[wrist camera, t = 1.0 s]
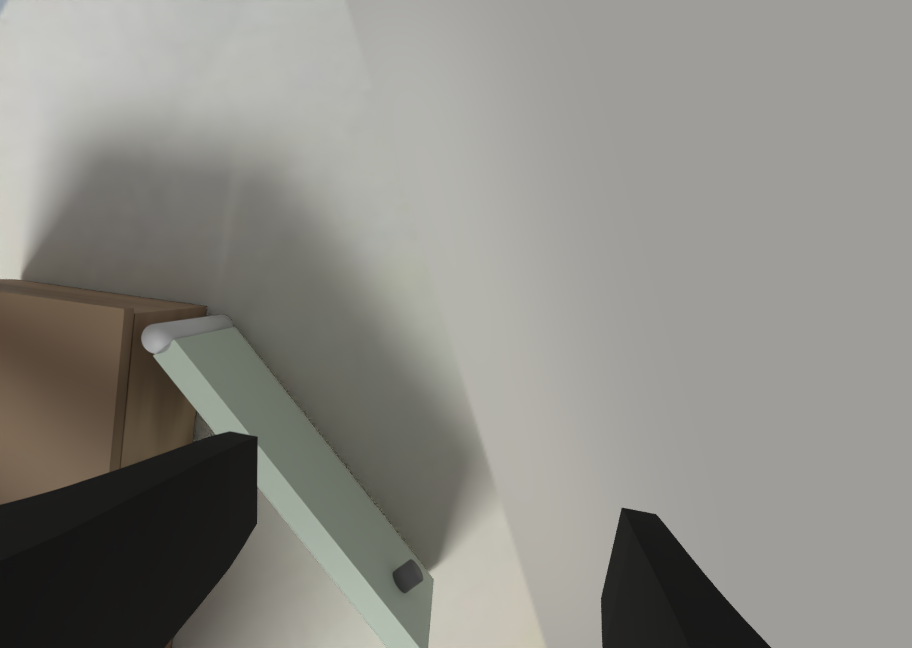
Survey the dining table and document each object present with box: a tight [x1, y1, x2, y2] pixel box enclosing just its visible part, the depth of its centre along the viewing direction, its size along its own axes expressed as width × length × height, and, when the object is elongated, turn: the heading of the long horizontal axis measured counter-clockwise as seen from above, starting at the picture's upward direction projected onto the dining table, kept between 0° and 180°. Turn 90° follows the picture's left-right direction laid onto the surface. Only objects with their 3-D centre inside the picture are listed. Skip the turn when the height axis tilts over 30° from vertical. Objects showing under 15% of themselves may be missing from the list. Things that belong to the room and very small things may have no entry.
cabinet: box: [0, 279, 207, 648], centre depth 23 cm, size 18×9×6 cm, turn 172°
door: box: [141, 315, 434, 648], centre depth 23 cm, size 16×2×6 cm, turn 37°
